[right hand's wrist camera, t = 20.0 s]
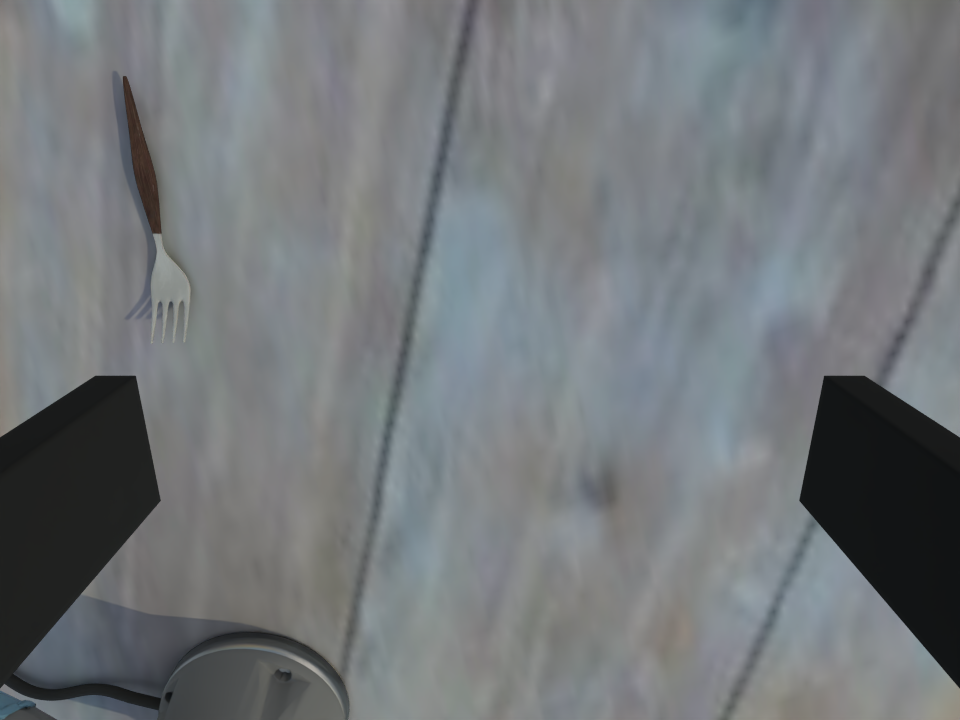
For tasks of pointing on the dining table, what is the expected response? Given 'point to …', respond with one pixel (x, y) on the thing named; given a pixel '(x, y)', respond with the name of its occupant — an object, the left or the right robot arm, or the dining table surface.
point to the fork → (155, 228)
